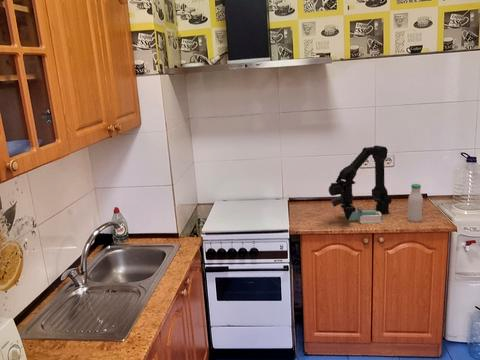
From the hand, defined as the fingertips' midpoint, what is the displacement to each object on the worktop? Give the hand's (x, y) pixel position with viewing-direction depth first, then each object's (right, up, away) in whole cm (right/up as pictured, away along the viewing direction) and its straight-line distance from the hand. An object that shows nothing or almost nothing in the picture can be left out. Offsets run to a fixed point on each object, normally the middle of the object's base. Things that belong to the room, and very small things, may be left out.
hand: (347, 219), depth 236 cm
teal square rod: (+7, 0, -1) cm, 8 cm away
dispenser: (+12, -1, -1) cm, 13 cm away
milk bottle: (+36, 0, -4) cm, 37 cm away
